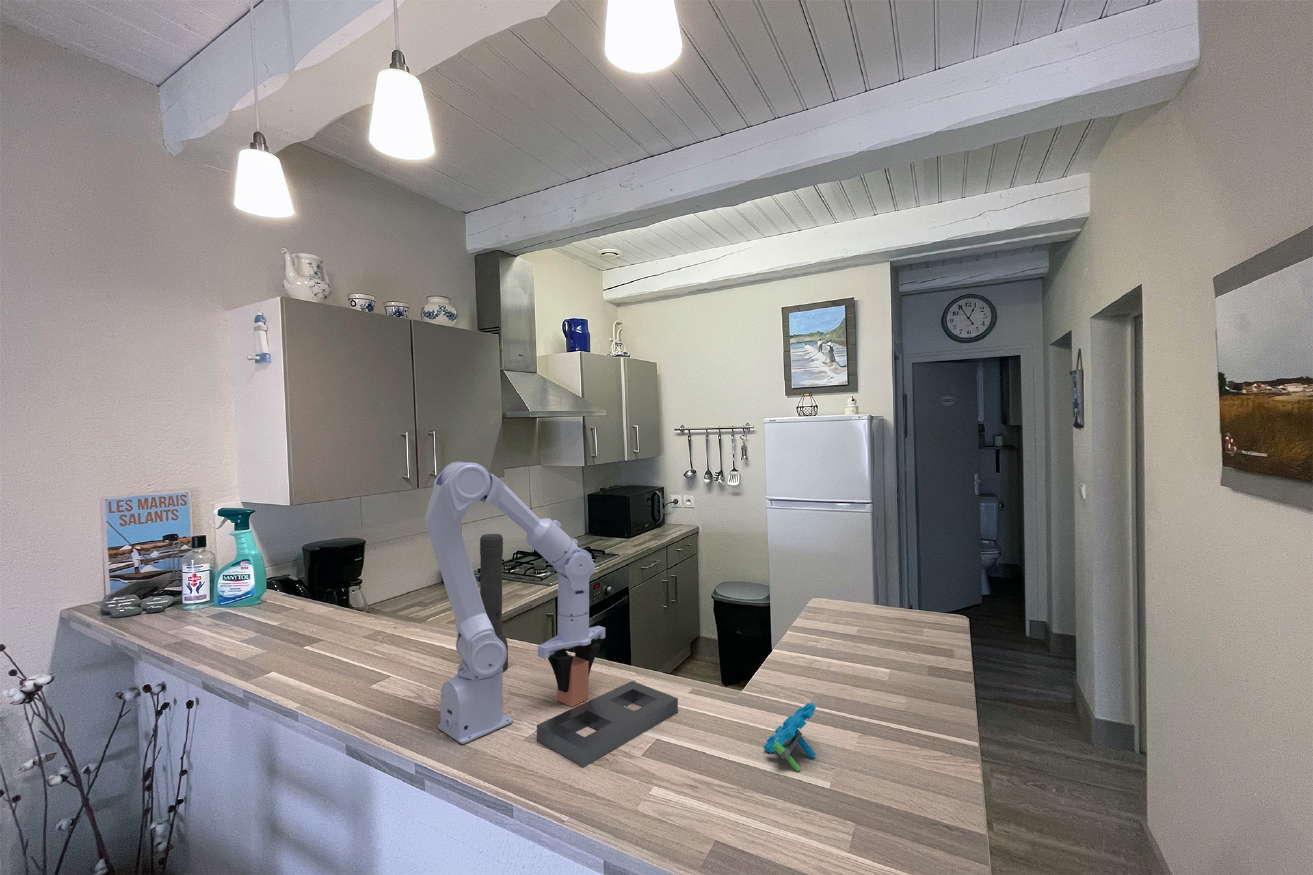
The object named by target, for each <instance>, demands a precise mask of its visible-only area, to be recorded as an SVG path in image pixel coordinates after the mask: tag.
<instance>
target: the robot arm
mask: <svg viewBox="0 0 1313 875" xmlns="http://www.w3.org/2000/svg"><path fill="white" fill-rule="evenodd" d="M479 501H480V502H483V503H486V504H490V505H493V506H495V507H496V508H497V509H499V510H500V511H501V512H502V513H503V514H505V515H506V516H507V518H510V520H512V522H514V523H515V524H516V525H518V526H519V527H520V528H521V529H522V530H524V532H525V534H526V543H527V544H528V545H529V546H530V547H532V549H534V550H535V551H536V552H537V553H538V554H539V555H541V556H542V557H543V558H544V560H546V561H547V562H548V563H549V564H550V565H552V567H553V569H554V570H553V571H555V572H557V573H558V574H557V575H558V576H557V579H558V580H557V635H555V636H553V637H552V638H550V639H548V640H547V641H546V642H544V643H541V644H538V645H537V657H539V658H542V659H544V660H546V659H547V660H548V663H549V664H550V666H551V668H552V670H553V674H554V676H555V680H556V685H558V690H560V691H562V692H564V693H566V692H568V690H569V680H570V669H571V665H572V661H573V658H574V657H573V656H576V657H579V658H582V659H584V660H587V661H589V670H588V679H589V677H590V672H591V669H592V665H593V663H594V660H595V659H596V657H597V655H598V653H599V651H600V648H601V647H600V646H601V644H600V643H598V642H596V640H598V639H601V640H602V639H605V638H606V627H604V626H600V625H597V626H591V627H590V577H592V576H593V574H594V571H595V569H596V563H595V562H594V560H593V559H592V558H593V556H592V555H591V553H590V552H589V551H588V550H586V549H584V548H581V547H578V543H579V541H578V539H576V538H574V537H573V538H572V537H570V536H569V535H568V534H567V533H566V532H565V531H564V530H563V529H562V528H561V527H562V523H560V521H558V520H556V519H554V520H552V519H551V518H549V517H548V518H547V517H546V518H539V517H538V516H537V514H535V513H534V511H532V510H531V509H530V507H528V506H527V505H526V503H524V502H523V501H522V500H521V499H520V498H519V497H518V495H517V494H516V493H514V491H513V490H512V489H510V487H508V486H507V485H506V484H505V483H504V481H502V480H501V479H500V478H499V477H497V476H496V475H494V474H493V473H491V472H489V471H487V469H486V468H485V467H484V466H482V465H481V464H480V463H477V462H465V461H453V462H451V463H449V464H447V465H445V467H444V468H443V469H442V471H441V472H440V473H439V474H438V475H437V477H436V478H435V479H434V481H433V489H432V493H431V496H430V500H429V502H428V506H427V508H426V511H425V515H424V523H425V527H426V531H427V534H428V537H429V539H430V543H431V546H432V549H433V554H434V556H435V558H436V562H437V565H438V569H439V571H440V575H441V578H442V581H443V584H444V587H445V590H446V593H447V597H448V601H449V603H450V606H451V609H452V612H453V616H454V618H455V623H454V626H455V628H456V632H457V633H456V641H455V649H456V652H457V654H458V655H459V656H460V658H462V659H461V661H460V663H459V666H458V667H457V673H456V674H455V675H454V676H453V677H452V678H450V679H448V680H446V681H445V682H443V684H442V687H441V690H440V719H439V720H440V723H439V724H438V726H437V728H438V729H439V730H440V731H442V732H443V733H445V735H448V736H450V737H451V738H452V739H454V740H455V741H457V742H458V743H459V744H462V745H464V744H467V743H469V742H471V741H473V740H476V739H478V738H480V737H482V736H485V735H487V734H489V733H492V732H494V731H496V730H498V729H500V728H503V727H505V726H507V725H510V724H512V723H514V719H513V718H512V717H510V716H509V715H507V714H505V713H504V712H503V698H504V697H503V692H504V691H503V690H504V688H503V686H504V684H503V682H504V681H503V680H504V678H503V674H504V672H503V665H504V663H505V661H506V657H507V650H506V647H505V645H504V643H503V642H502V641H501V640H500V639H499V638H498V637H497V636H496V634H495V632H494V628H493V626H492V624H491V622H490V620H489V618H488V616H487V614H486V611H485V608H484V605H483V601H482V598H481V595H480V588H479V585H478V583H477V578H476V576H475V573H474V570H473V567H472V563H471V560H470V557H469V554H468V550H467V547H466V546H467V545H466V543H465V540H464V536H463V533H462V530H461V527H460V523H461V522H462V521H463V519H464V517H465V516H466V514H467V512H468V511H469V510H470V508H472V507H473V506H474V505H475V504H477V502H479ZM570 649H573V650H574V651H573V652H574V655H570V654H569V653H568V651H567V650H570Z"/></svg>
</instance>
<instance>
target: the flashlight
mask: <svg viewBox="0 0 1313 875" xmlns="http://www.w3.org/2000/svg"><path fill="white" fill-rule="evenodd" d="M503 553H504V537H503V536H502V534H500V533H487V534H483V535H481V536H480V539H479V555H480V558H479V560H480V567H479V568H480V574H479V577H480V578H479V584H480V588H479V592H480V595H481V598H482V601H483V605H484V608H485V611H486V614H487V616H488V618H489V620H490V622H491V624H492V626H493V628H494V632H495V634H496V636H497V637H498V638H499V639H500V640H501V641H502V642H503V643H504V645H505V647H506V650H507V657H506V661H505V663H504V665H503V673H505V672H506V671H507V670H508V668H509V644H508V640H507V637H506V635H505V634H504V633H503Z"/></svg>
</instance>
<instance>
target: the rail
mask: <svg viewBox="0 0 1313 875" xmlns="http://www.w3.org/2000/svg"><path fill="white" fill-rule="evenodd" d="M629 704H630V705H631V704H634V705H637V706H639V707H640V708H637V709H635V710H633V709H631V708H629V707H627V705H628V706H630V705H629ZM624 706H626V707H624ZM678 707H679V698H678V697H676V696H673V695H672V694H671V695H670V694H668V693H665V692H662V691H661V690H658V689H655V688H652V687H649V686H647V685H645V684H642V683H639V682H636V681H633V680H631V681H629V682H626V683H625V684H623V685H620V686H618V687H616V688H614V689H611V690H610V691H608V692H605V693H603V694H601V695H598V696H596V697H595V698H592V699H590V700H588V701H584V702H582V703H580V704H578V706H577V705H576V706H574V707H571V709H568V710H566V711H564V712H562V713H560V714H558V715H555V716H553V717H550V718H549V719H547V720H544V721H543V722H540V723H538V724H536V742H538V743H540V744H541V745H543V746H545V747H547V748H549V749H550V750H552V751H553V752H556V753H557V754H559V755H561V756H562V757H564V758H566V759H568V760H569V761H571V762H573V763H575V764H577V765H578V766H579V767H582V768H585V767H586V766H588V765H590V764H591V763H593V762H595V761H596V760H597V761H598V759H600V758H602V757H604V756H606V755H607V754H609V753H610V752H613V751H614V750H616V749H618V748H619V747H621V746H623V745H625V744H626V743H628V742H630V741H631V740H633V739H635V738H637V737H638V736H639V735H642V734H644V733H645V732H647V731H648V730H650V729H652V728H654V727H656V726H657V725H659V724H660V723H663V722H664V721H666V720H668V719H670V718H671V717H673V716H675V715H676V714H678V713H679V708H678ZM674 714H675V715H674ZM670 716H671V717H670ZM586 727H590V728H591V729H593V730H596V731H594V732H592V733H590V734H588V735H586V736H583V735H581V734H579V733H577V732H578V731H580V730H582V729H585V728H586Z"/></svg>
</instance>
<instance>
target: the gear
mask: <svg viewBox="0 0 1313 875" xmlns="http://www.w3.org/2000/svg"><path fill="white" fill-rule="evenodd" d="M816 708H817V707H816V705H815V704H814V703H813V702H811V703H809V702H807V703H806V704H805V705H804V706H803V707H800V708H798V709H797V710H796V711H795V713H794V714H793V715H789V716H788V717H787V718H786V719H785V720H784V721H783V722H782V726H781V725H779V726H778V727H777V728H776V729H775V730H774V733H775V734H772V735H770V736H769V737H768V739H766V743H765V744H764V745H763V749H764V750H765V752H766V753H770V754H771V753H773V752H774V751H776V753H777V754H778V755H779V756H780V758H781V759H782V760H784V759H786V761H787V762H789V764H790V766H791V767H792V768H793V769H794V770H795V771H796V772H799V771H800V770H801V767H800V765H799V764H798V763H797V762H796V760H795V759H794V758H793V757H792V756H791V753H792V751H793V749H794V748H795V746H796V744H798V745H799V746H800V747H801V749H802V750H803V751H804V752H805V754H807V756H808V757H809V758H810V759H813V758H814V757H815V756H816V753H815V751H814V750H813V749H812V748H811V746H810V745H809V744H808V742H807V741H806V740H805V739H804V738H803V737H802V736H803V733H802V732H801V731H800V730H802V728H803V727H805V725H807V722H806V720H810V718H812V717H813V716H814V714H815V712H814V711H815V710H816ZM786 741H788V742H789V743H788V744H787V746H786V743H785V742H786Z"/></svg>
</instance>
